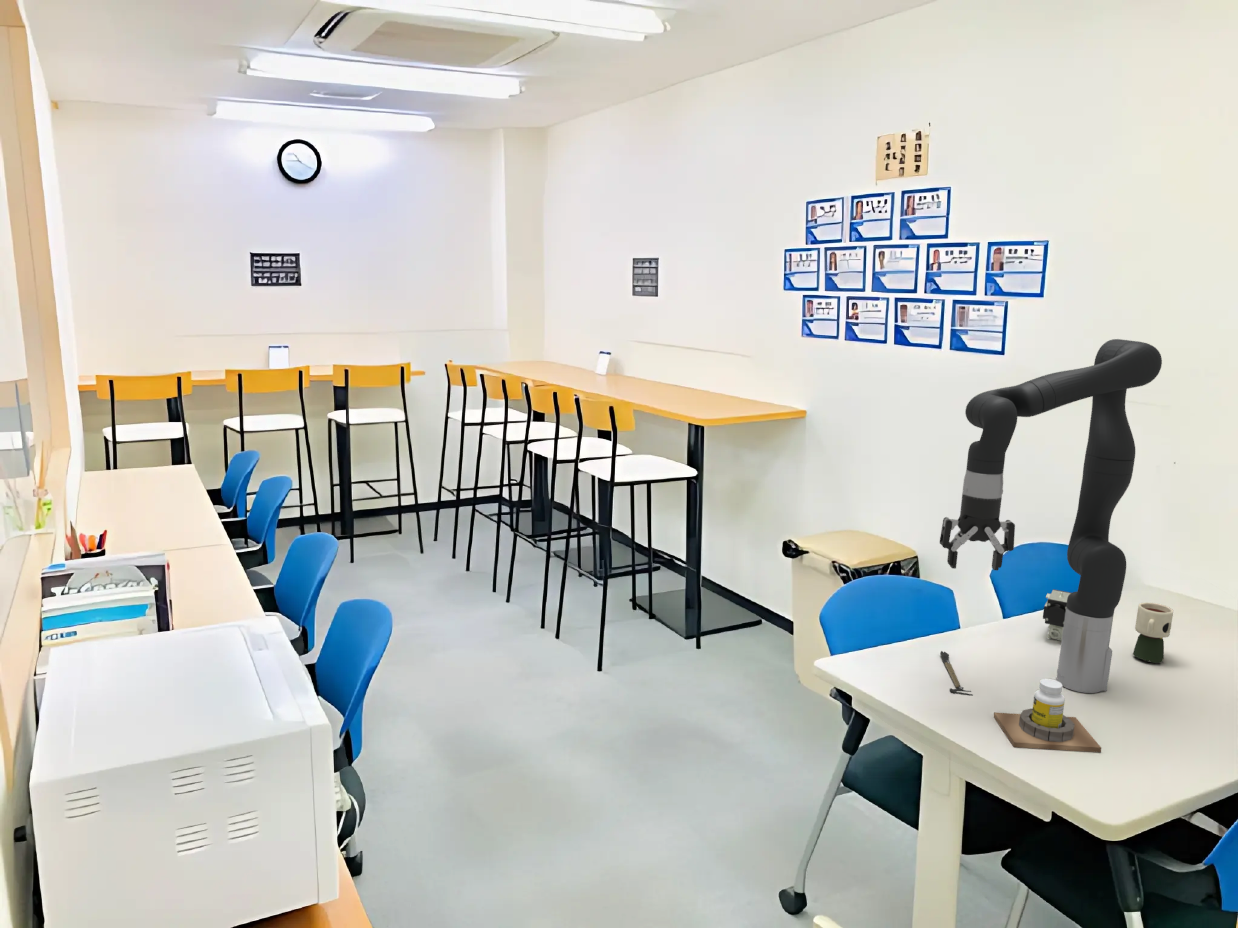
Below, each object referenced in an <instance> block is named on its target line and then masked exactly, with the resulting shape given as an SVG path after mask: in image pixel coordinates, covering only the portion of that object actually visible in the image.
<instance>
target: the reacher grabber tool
mask: <svg viewBox="0 0 1238 928" xmlns="http://www.w3.org/2000/svg"><path fill="white" fill-rule="evenodd" d="M940 656H941V662H942V664H943V665H944V667H945V670H946V671H947V673H948V675H949V678H950V679H951V681H952V684H953V687H954V688H951V687H950V688H949V693H950V694H953V695H956V694H957V695H962V696H974V694H971V693H972V691H971V690H965V687H963V686H961V683H960V681H959V679H958V677H957V675H956V672H955V670H954V668H953V665H952V664H951V661H950V657H949V656H950V653H947V652H946V651H943V650H941V651H940Z"/></svg>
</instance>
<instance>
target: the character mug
mask: <svg viewBox="0 0 1238 928" xmlns="http://www.w3.org/2000/svg"><path fill="white" fill-rule="evenodd" d="M1173 617H1174V610H1173V608H1171V607H1169V606H1167V605H1164V604H1160V603H1155V602H1140V603H1139V604H1138V607H1137V613H1136V619H1135V626H1134V630H1135V631H1136V632H1137V633H1139V635H1138V636H1137V640H1136V641H1135V645H1134V648H1133V652H1132V655H1133V656H1134V657H1136V658H1137V659H1140V660H1144V661H1145V662H1147V663H1148V662H1150V663H1153V664H1155V663H1156V664H1159V663H1163V661H1164V655H1165V649H1164V648H1165V645H1164V644H1165V641H1164V638H1168V637H1170V633H1171V629H1172V622H1173Z"/></svg>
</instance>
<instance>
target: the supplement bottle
mask: <svg viewBox="0 0 1238 928" xmlns="http://www.w3.org/2000/svg"><path fill="white" fill-rule="evenodd" d="M1038 687H1039V689H1037V690H1036V691H1035V692H1034V697H1033V704H1032V708H1033V710H1032V718H1031V721H1032V722H1034V723H1036V724H1038V725H1040V726H1044V727H1047V728H1061V725H1062V718H1063V715H1064V710H1065V701H1066V700H1065V699H1066V698H1065V696H1064V695H1063V694H1062V692H1063V686H1062V684H1061V683H1060V682H1058V681H1057V679H1053V678H1042V679H1040V680H1039V686H1038Z"/></svg>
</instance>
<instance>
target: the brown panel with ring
mask: <svg viewBox="0 0 1238 928" xmlns="http://www.w3.org/2000/svg"><path fill="white" fill-rule="evenodd" d="M1032 710H1033V707H1032V708H1027V709H1023V710H1021V713H1014V712H1013V713H1010V712H1008V713H1007V712H993V718H994V720H995V721H996V723H997V725H999V727H1000V728H1001V730H1002V732H1003V733H1004V735H1005V736H1006V737H1007V739H1008V740H1009V743H1010V744H1011V746H1012V747H1013V748H1020V749H1021V748H1023V749H1038V750H1040V749H1041V750H1052V751H1053V750H1055V751H1056V750H1057V751H1072V752H1073V751H1074V752H1088V753H1101V751H1102V746H1101V745H1100V744H1099V743H1098V742H1097V741H1096V739H1095V738H1094V737H1093V736H1092V735H1091V733H1089V731H1088V730H1087V729H1086V727H1085V726H1084V725H1083V724H1082V723H1081V722H1080V720H1079V719H1078V718H1077V717H1075V716H1066V715H1064V714H1063V718H1062V725H1061V728H1047V727H1044V726H1040V725H1038V724H1036V723H1034V722H1032V721H1031V718H1032Z"/></svg>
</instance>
